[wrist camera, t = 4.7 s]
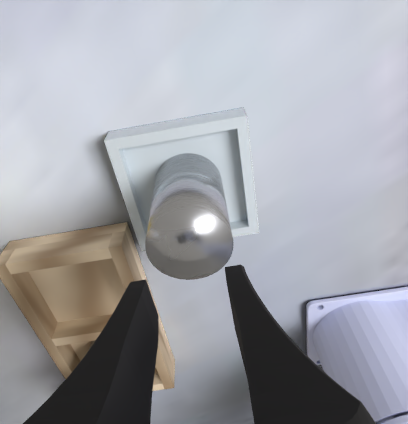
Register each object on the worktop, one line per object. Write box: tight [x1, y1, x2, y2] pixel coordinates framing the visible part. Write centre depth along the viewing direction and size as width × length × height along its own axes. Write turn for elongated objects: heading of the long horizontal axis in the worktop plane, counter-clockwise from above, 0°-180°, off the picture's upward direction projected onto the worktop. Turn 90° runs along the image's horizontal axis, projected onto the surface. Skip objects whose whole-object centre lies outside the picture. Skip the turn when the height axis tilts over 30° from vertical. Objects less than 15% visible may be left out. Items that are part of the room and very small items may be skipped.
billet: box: [145, 153, 233, 280], centre depth 19 cm, size 4×4×6 cm
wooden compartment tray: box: [0, 222, 175, 391], centre depth 26 cm, size 8×15×2 cm, turn 9°
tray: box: [104, 107, 259, 252], centre depth 21 cm, size 8×8×1 cm
